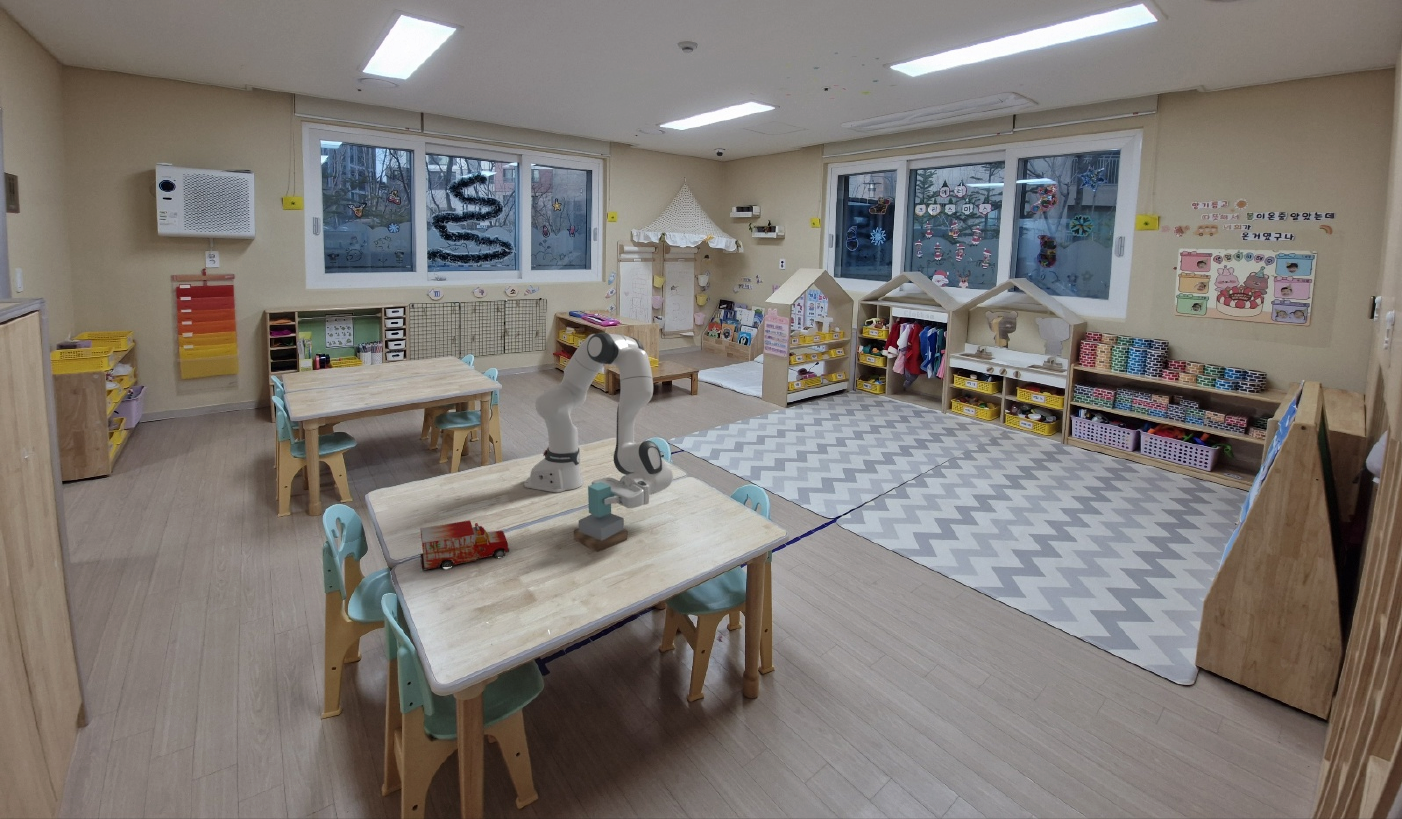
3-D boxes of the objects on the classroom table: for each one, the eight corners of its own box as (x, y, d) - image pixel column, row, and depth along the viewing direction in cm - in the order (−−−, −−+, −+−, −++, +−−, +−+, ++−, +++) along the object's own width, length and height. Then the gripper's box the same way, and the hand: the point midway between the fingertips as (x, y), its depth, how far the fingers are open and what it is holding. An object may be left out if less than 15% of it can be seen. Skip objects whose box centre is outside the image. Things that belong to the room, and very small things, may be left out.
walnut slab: (574, 541, 213) (573, 529, 212) (603, 529, 221) (603, 518, 220) (597, 553, 205) (597, 541, 204) (627, 541, 213) (627, 529, 212)
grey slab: (578, 531, 210) (578, 520, 209) (601, 521, 218) (601, 509, 217) (601, 540, 205) (601, 528, 203) (623, 529, 212) (623, 518, 211)
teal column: (588, 512, 210) (588, 486, 207) (601, 508, 213) (600, 482, 211) (598, 517, 206) (597, 490, 204) (611, 512, 210) (610, 486, 208)
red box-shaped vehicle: (510, 558, 200) (508, 527, 198) (422, 574, 190) (419, 542, 188) (505, 543, 210) (503, 513, 207) (420, 557, 200) (417, 527, 197)
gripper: (611, 470, 224) (577, 480, 214) (651, 486, 210) (617, 498, 200) (611, 487, 225) (578, 498, 216) (652, 505, 212) (617, 517, 202)
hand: (597, 498), depth 208 cm, fingers closed on teal column, 5 cm apart
